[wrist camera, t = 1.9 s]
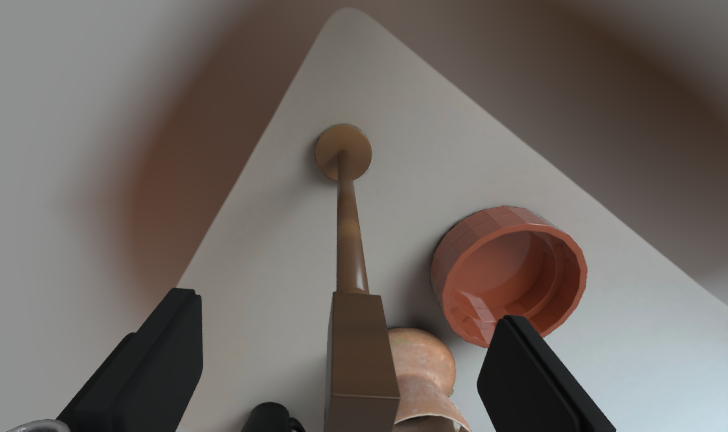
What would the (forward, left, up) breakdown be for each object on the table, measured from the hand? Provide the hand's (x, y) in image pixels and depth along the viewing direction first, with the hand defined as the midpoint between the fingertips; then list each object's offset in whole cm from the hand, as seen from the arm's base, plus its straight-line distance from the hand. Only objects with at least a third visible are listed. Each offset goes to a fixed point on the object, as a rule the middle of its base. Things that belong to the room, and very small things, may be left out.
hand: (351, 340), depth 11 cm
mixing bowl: (+12, +21, -29) cm, 38 cm away
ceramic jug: (+28, +11, -29) cm, 42 cm away
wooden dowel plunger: (0, 0, -29) cm, 29 cm away
